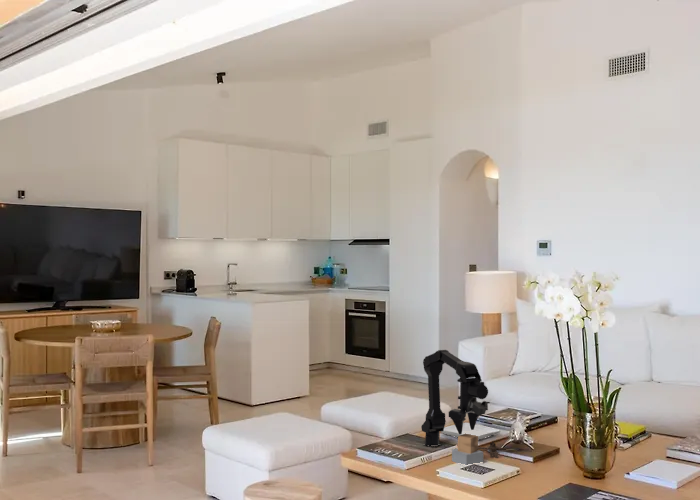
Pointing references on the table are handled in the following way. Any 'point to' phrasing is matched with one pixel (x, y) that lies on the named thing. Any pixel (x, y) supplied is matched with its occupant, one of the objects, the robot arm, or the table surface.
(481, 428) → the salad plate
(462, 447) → the walnut cube
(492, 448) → the bear figurine
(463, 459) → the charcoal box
